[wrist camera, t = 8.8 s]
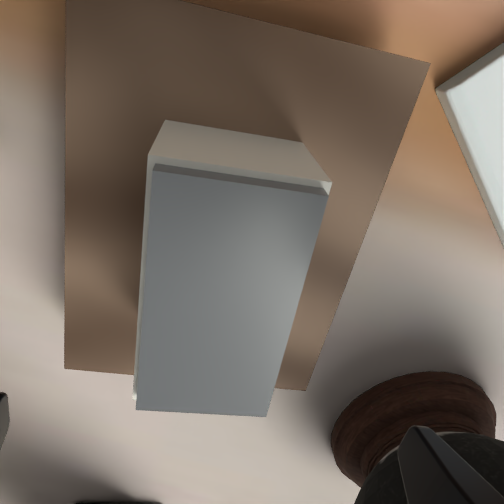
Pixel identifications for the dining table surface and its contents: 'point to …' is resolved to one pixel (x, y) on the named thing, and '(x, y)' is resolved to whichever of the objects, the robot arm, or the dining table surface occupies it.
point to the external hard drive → (480, 126)
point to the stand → (223, 117)
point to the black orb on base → (419, 414)
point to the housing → (222, 266)
